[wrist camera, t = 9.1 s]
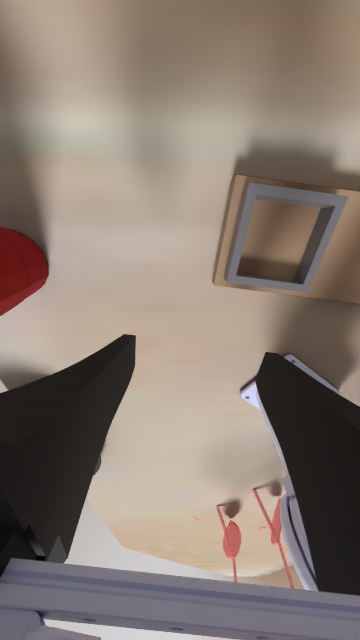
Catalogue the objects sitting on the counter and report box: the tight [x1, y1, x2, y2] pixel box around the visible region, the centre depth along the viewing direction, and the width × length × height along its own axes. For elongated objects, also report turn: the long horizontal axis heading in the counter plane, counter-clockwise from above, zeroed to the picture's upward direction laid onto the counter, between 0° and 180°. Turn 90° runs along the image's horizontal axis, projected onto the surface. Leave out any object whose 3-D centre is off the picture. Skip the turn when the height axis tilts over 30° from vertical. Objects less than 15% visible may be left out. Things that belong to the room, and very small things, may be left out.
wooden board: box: [212, 175, 360, 304], centre depth 16 cm, size 23×8×2 cm, turn 83°
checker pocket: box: [224, 183, 349, 293], centre depth 14 cm, size 7×7×2 cm
